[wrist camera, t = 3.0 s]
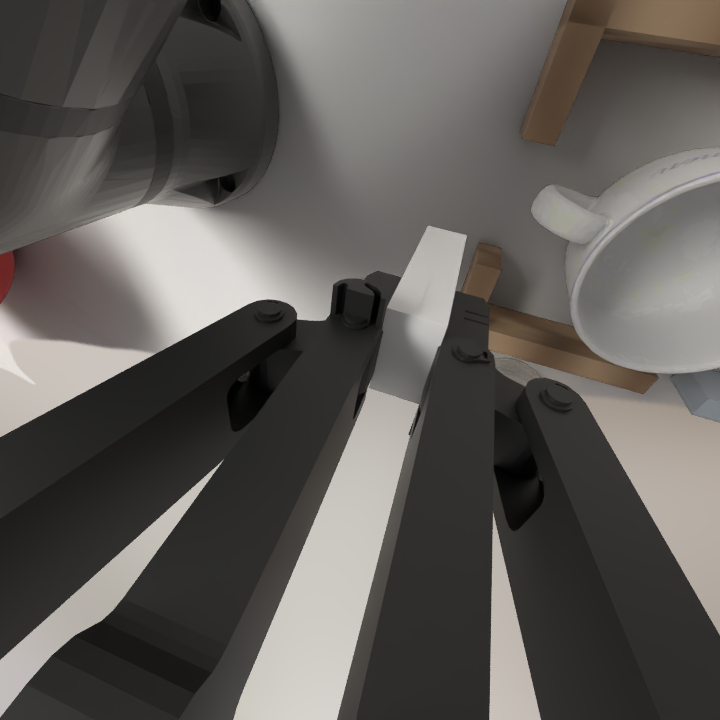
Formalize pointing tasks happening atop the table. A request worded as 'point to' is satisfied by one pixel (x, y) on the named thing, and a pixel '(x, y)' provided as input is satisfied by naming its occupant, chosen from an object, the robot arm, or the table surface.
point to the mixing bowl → (6, 273)
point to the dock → (700, 392)
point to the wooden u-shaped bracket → (543, 125)
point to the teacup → (645, 263)
